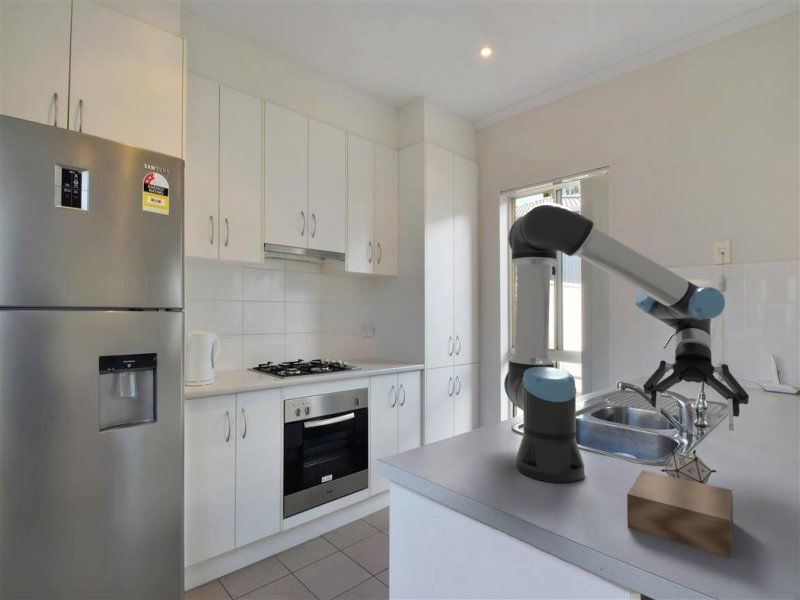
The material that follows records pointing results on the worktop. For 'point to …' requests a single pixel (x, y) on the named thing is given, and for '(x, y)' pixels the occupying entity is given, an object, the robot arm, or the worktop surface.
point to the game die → (688, 467)
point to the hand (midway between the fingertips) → (692, 422)
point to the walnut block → (682, 511)
